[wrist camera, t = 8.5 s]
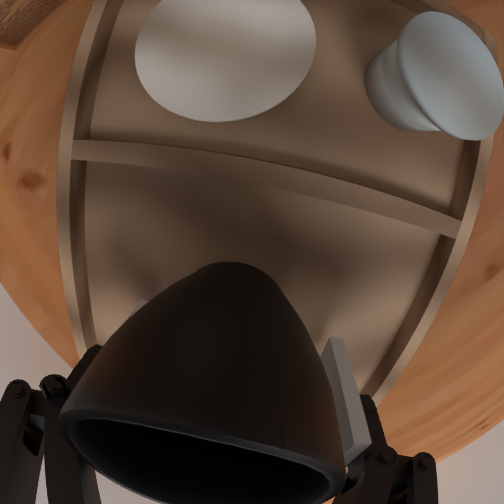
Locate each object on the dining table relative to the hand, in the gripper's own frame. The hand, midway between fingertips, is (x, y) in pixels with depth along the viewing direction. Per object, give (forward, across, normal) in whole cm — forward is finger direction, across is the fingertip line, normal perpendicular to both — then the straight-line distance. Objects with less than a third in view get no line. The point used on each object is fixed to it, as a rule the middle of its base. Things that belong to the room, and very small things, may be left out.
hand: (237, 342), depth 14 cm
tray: (+3, 0, +6) cm, 7 cm away
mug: (+1, +1, 0) cm, 1 cm away
